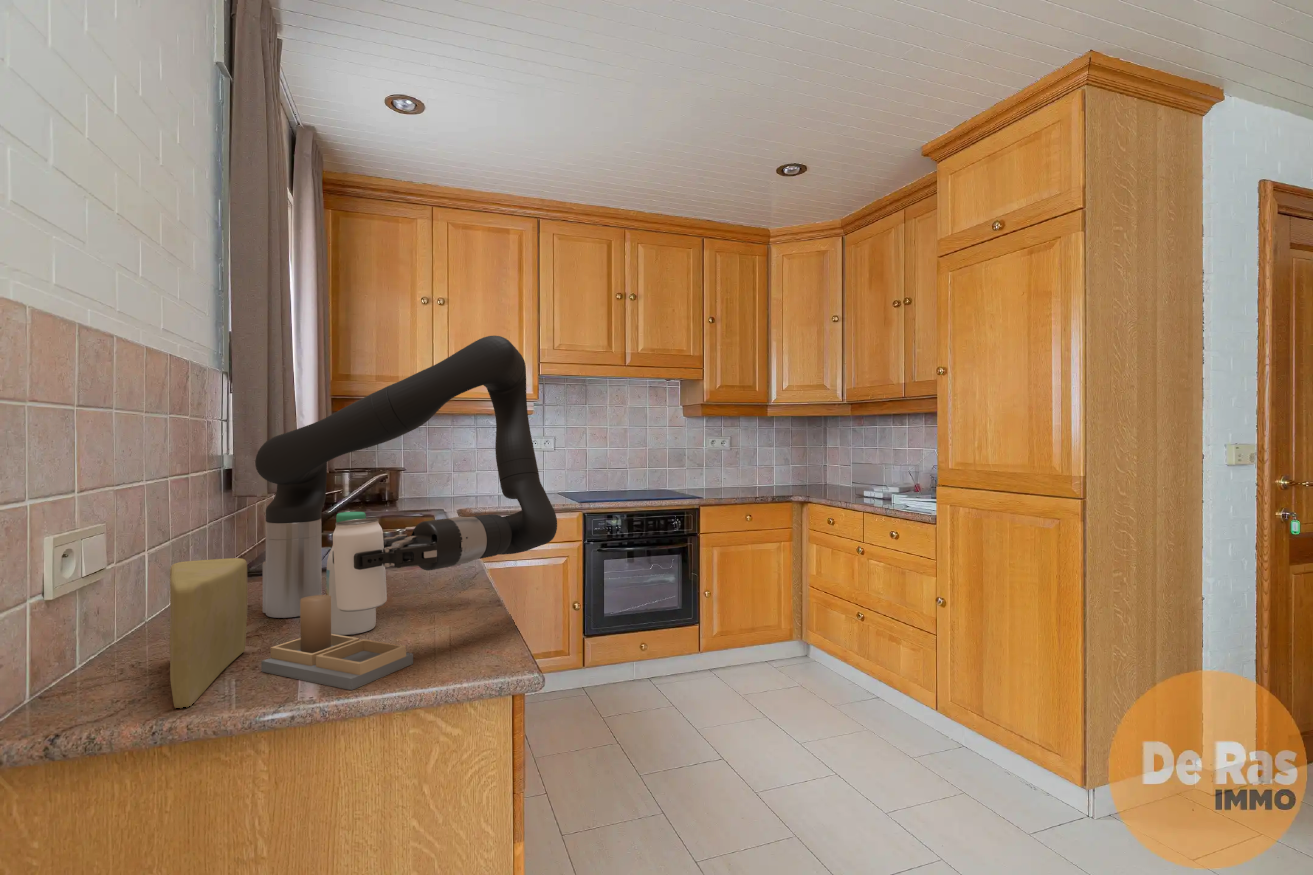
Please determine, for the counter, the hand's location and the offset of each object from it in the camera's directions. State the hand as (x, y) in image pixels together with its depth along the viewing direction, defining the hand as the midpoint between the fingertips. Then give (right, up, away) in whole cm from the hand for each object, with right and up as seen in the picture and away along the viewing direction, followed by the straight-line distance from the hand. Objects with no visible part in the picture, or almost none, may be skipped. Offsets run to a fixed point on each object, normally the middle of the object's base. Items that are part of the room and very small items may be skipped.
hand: (344, 559), depth 92 cm
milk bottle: (-9, -16, +23) cm, 29 cm away
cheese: (-20, -17, -1) cm, 26 cm away
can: (+1, -7, +2) cm, 8 cm away
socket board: (-3, -16, +4) cm, 17 cm away
